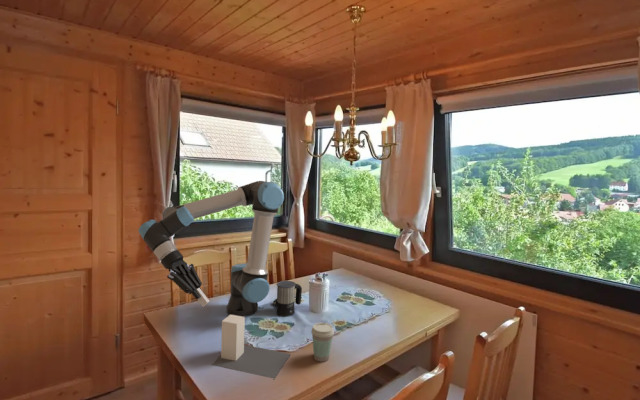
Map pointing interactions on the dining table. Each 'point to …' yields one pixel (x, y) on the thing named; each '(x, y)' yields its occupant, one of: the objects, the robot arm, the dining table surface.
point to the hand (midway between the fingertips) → (206, 303)
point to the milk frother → (287, 297)
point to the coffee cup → (322, 341)
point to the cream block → (232, 337)
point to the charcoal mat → (256, 361)
